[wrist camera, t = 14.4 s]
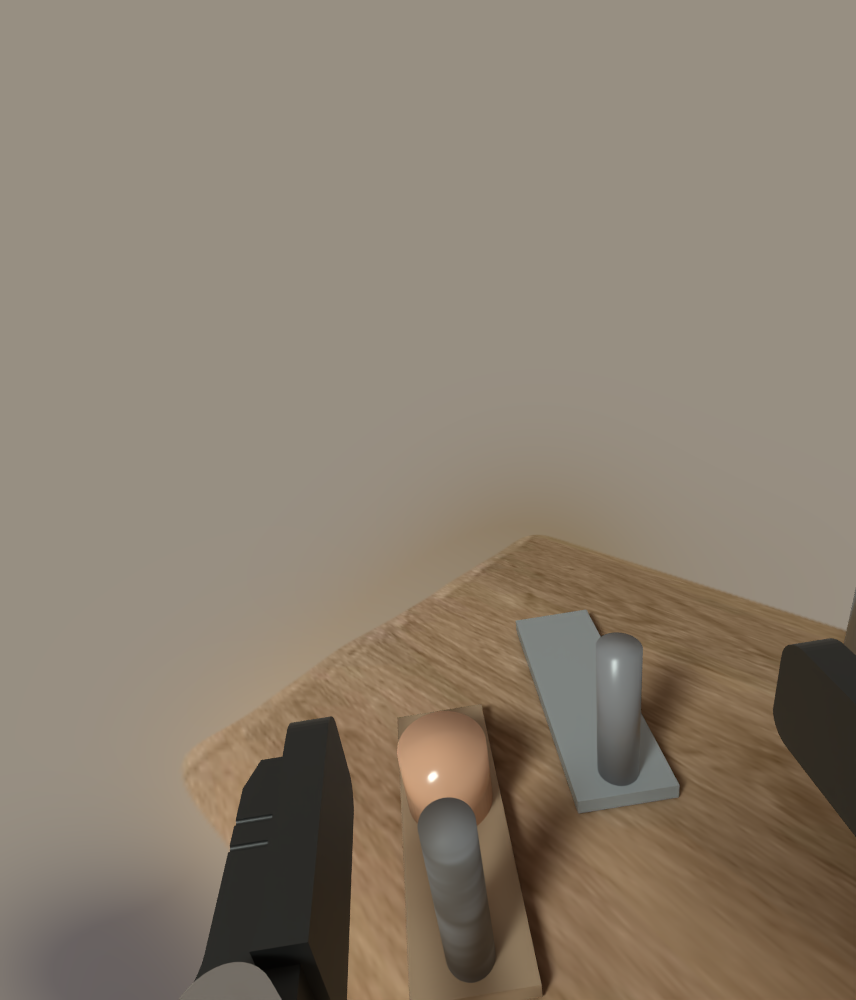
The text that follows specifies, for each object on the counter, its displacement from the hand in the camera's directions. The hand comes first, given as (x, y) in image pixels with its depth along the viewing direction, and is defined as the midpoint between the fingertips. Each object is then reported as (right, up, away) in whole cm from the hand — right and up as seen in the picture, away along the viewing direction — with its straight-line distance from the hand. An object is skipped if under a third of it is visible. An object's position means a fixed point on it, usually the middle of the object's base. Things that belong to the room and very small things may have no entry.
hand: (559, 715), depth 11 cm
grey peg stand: (+11, -13, +39) cm, 43 cm away
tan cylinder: (-1, -17, +31) cm, 36 cm away
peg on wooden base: (0, -19, +30) cm, 36 cm away
